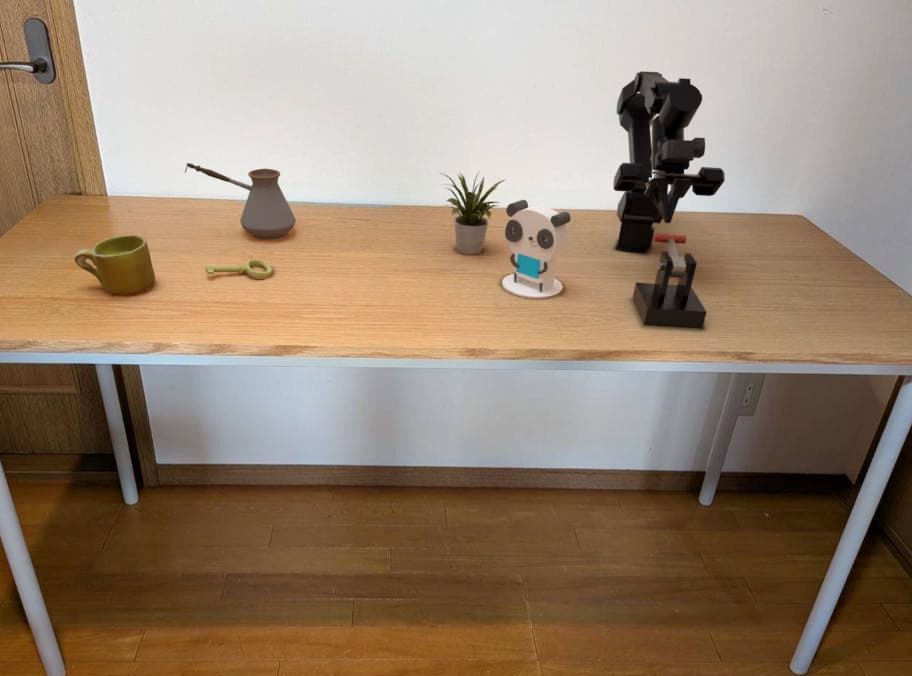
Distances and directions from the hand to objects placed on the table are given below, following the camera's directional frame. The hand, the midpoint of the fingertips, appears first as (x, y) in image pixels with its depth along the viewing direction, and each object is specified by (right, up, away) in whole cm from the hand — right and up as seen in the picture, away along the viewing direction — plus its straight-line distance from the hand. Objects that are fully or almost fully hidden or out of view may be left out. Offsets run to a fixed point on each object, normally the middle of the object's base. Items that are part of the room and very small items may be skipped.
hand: (668, 222), depth 135 cm
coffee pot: (-82, +3, +24) cm, 85 cm away
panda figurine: (-24, -10, +7) cm, 27 cm away
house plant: (-36, -1, +21) cm, 42 cm away
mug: (-99, -12, -1) cm, 99 cm away
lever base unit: (-1, -17, -2) cm, 17 cm away
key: (-79, -8, +6) cm, 79 cm away
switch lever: (0, -7, -4) cm, 8 cm away
